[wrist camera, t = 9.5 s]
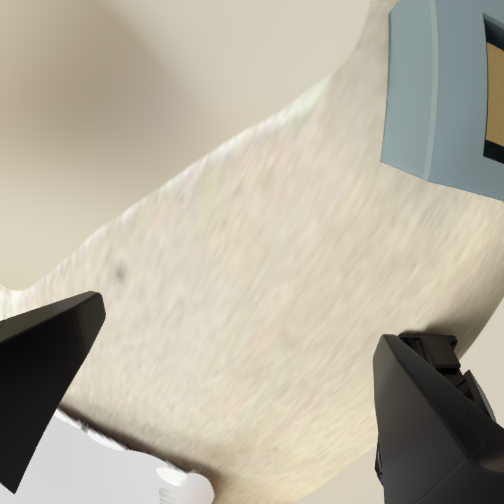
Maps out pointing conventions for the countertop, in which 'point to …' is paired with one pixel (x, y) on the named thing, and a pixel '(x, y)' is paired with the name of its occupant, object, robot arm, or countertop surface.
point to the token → (495, 97)
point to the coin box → (443, 93)
